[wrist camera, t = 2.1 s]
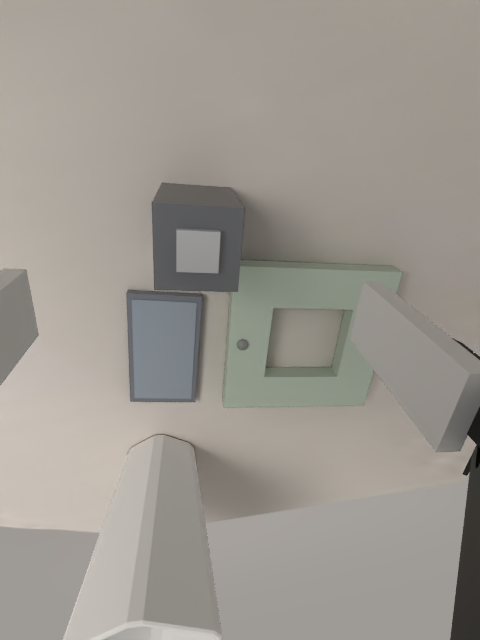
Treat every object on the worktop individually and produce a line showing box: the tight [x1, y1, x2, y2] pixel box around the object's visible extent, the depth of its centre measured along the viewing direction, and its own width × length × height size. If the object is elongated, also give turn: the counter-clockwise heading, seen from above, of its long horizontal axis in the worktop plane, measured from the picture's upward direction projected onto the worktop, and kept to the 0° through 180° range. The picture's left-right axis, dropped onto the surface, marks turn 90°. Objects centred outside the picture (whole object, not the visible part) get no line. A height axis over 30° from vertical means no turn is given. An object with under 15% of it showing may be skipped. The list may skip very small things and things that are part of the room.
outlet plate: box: [222, 260, 403, 408], centre depth 33 cm, size 14×14×2 cm
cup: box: [63, 435, 222, 640], centre depth 32 cm, size 11×10×17 cm
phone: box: [127, 290, 202, 402], centre depth 33 cm, size 11×6×1 cm, turn 174°
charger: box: [152, 183, 245, 292], centre depth 24 cm, size 5×5×8 cm
